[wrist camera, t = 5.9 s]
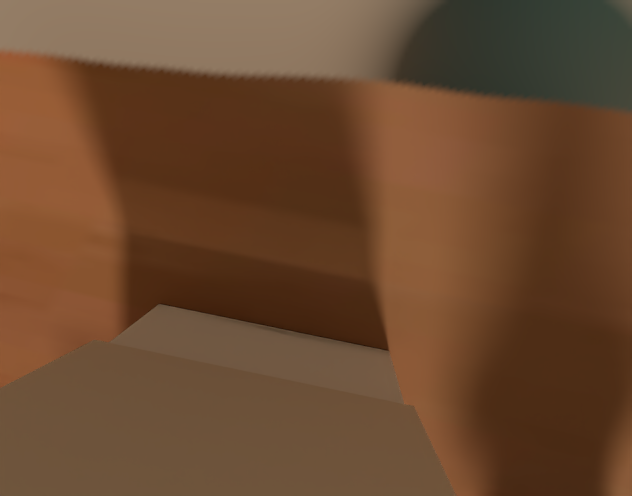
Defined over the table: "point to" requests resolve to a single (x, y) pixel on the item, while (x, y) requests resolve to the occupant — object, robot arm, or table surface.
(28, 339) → the table surface
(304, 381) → the carton
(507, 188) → the table surface
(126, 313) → the table surface
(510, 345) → the table surface
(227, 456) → the carton flap
